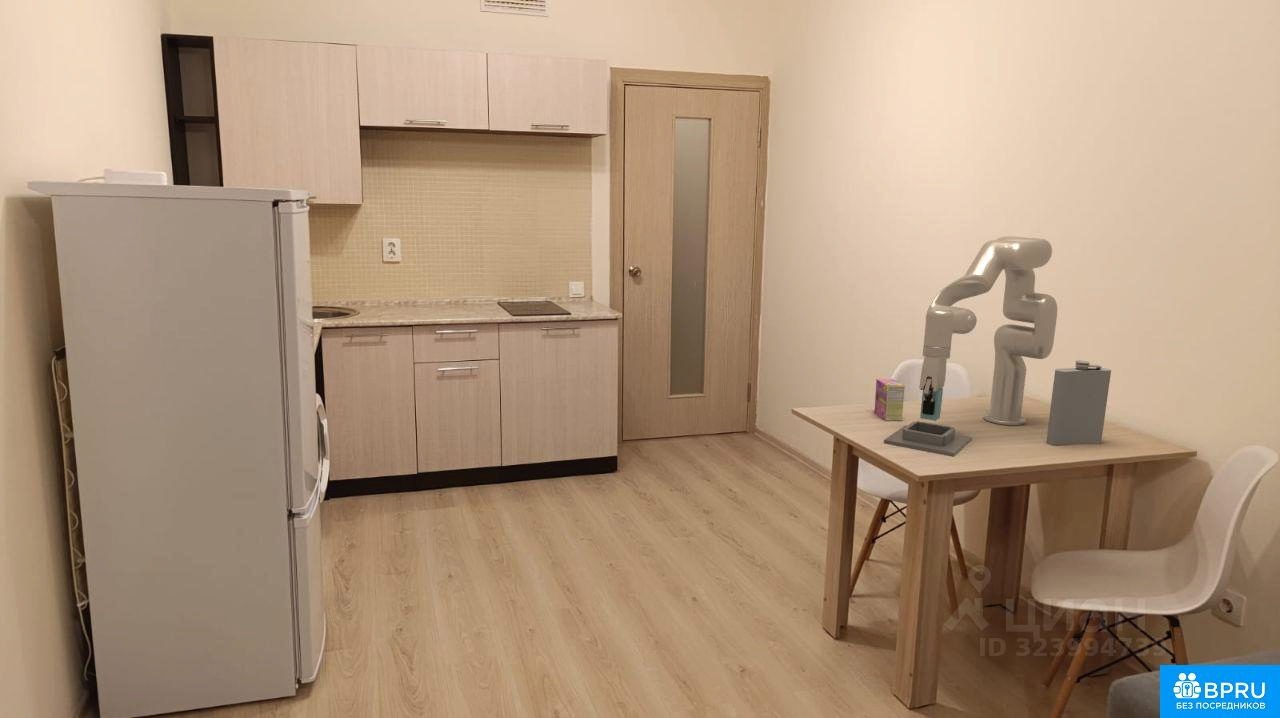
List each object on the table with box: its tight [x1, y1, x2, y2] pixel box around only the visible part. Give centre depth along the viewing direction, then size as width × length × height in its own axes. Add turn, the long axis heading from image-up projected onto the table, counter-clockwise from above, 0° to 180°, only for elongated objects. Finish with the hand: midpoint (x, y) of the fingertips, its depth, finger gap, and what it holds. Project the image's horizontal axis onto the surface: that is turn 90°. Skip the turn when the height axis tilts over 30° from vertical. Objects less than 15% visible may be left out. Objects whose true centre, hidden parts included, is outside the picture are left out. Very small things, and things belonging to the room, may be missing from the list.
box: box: [874, 378, 905, 422], centre depth 275 cm, size 10×6×12 cm, turn 5°
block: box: [920, 387, 944, 422], centre depth 247 cm, size 4×4×9 cm
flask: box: [1045, 359, 1112, 447], centre depth 249 cm, size 17×5×25 cm, turn 101°
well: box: [883, 420, 973, 457], centre depth 249 cm, size 20×20×4 cm
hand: (930, 411), depth 248 cm, fingers closed on block, 4 cm apart
